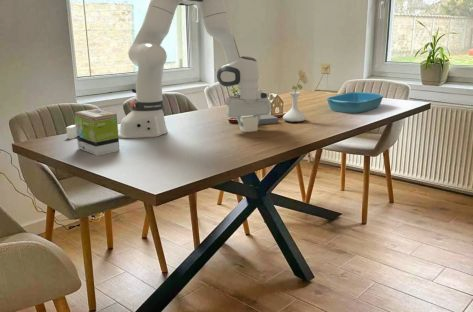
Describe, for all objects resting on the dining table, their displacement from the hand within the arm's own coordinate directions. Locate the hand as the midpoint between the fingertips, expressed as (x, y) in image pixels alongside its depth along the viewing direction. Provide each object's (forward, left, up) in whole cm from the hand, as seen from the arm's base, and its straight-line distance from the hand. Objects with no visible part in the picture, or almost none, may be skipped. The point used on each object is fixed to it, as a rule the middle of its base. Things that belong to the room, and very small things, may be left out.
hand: (248, 125), depth 216 cm
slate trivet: (+14, +14, -2) cm, 20 cm away
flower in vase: (+29, +10, -2) cm, 31 cm away
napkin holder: (-72, +21, -3) cm, 75 cm away
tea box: (-66, -9, -2) cm, 67 cm away
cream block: (0, 0, -2) cm, 2 cm away
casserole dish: (+75, +27, -3) cm, 80 cm away
